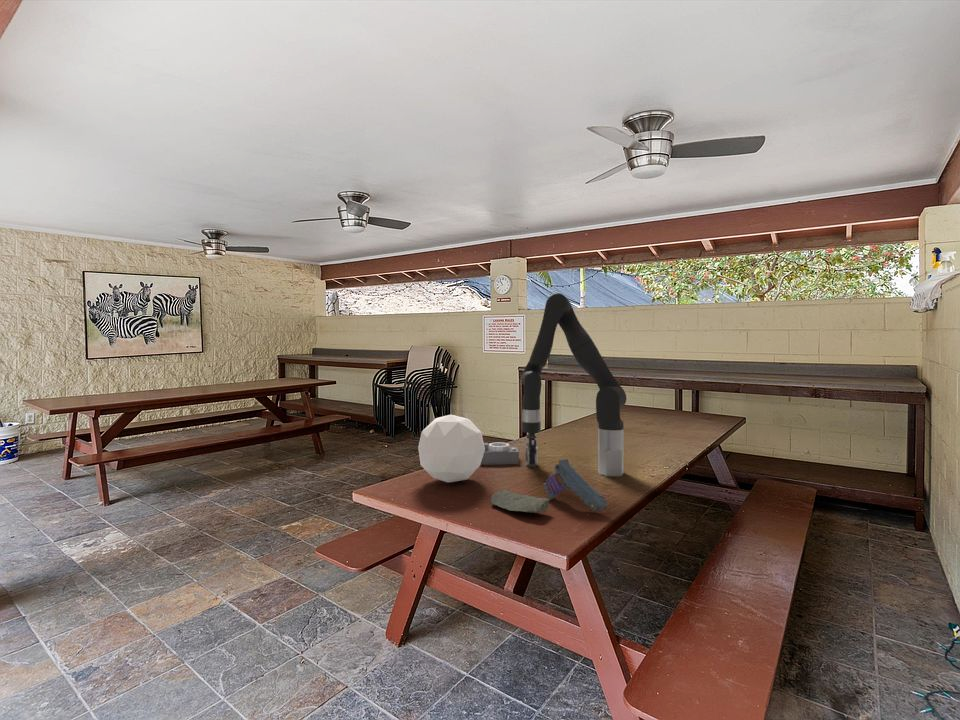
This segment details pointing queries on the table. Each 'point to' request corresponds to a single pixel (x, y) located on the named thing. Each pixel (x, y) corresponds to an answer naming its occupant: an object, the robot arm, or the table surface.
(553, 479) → the toy gun
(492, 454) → the camera body
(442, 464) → the geometric sphere
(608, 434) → the robot arm
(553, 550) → the table surface
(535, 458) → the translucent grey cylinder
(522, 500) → the stone
